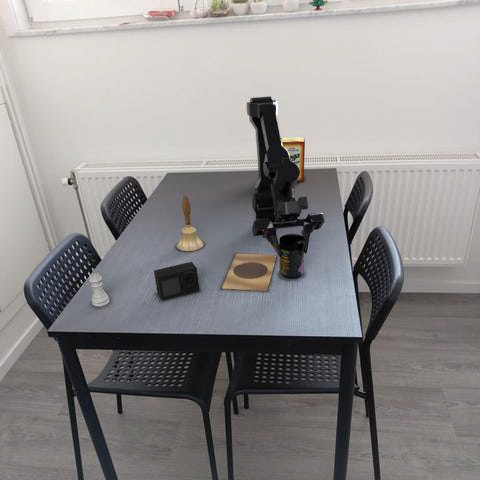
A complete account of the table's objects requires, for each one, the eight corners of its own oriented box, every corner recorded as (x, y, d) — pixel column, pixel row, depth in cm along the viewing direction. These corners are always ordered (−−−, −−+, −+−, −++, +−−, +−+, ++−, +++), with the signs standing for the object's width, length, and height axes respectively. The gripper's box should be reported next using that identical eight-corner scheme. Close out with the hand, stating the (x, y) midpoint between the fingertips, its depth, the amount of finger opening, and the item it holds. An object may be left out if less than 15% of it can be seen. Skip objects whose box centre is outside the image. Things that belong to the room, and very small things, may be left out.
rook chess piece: (93, 299, 125) (87, 272, 121) (111, 297, 125) (105, 270, 121) (90, 308, 121) (83, 280, 117) (108, 306, 122) (102, 279, 117)
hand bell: (207, 241, 152) (203, 192, 143) (197, 252, 145) (191, 201, 136) (183, 238, 154) (177, 190, 145) (172, 249, 148) (165, 199, 139)
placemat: (236, 254, 143) (236, 253, 143) (276, 256, 141) (276, 254, 141) (222, 288, 127) (222, 287, 126) (267, 291, 125) (267, 289, 124)
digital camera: (162, 303, 122) (158, 279, 118) (157, 293, 126) (153, 269, 122) (201, 293, 125) (198, 269, 121) (194, 284, 129) (191, 261, 125)
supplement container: (298, 282, 128) (299, 246, 122) (275, 277, 130) (274, 242, 125) (307, 271, 132) (308, 236, 127) (285, 266, 135) (285, 232, 130)
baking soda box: (280, 181, 197) (280, 141, 188) (280, 176, 202) (280, 137, 193) (303, 181, 196) (304, 140, 187) (303, 176, 201) (304, 136, 192)
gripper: (252, 189, 121) (262, 247, 118) (324, 182, 123) (335, 239, 120) (248, 208, 132) (256, 262, 129) (314, 201, 134) (324, 254, 131)
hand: (293, 254), depth 127 cm, fingers closed on supplement container, 7 cm apart
